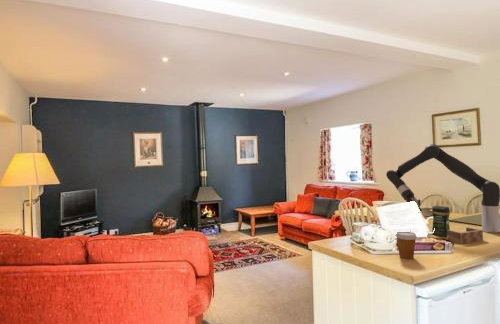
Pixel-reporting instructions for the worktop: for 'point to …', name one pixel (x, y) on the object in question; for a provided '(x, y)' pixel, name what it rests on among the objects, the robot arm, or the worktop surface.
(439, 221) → the coffee jar
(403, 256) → the disposable coffee cup
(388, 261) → the worktop surface
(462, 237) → the bracket
